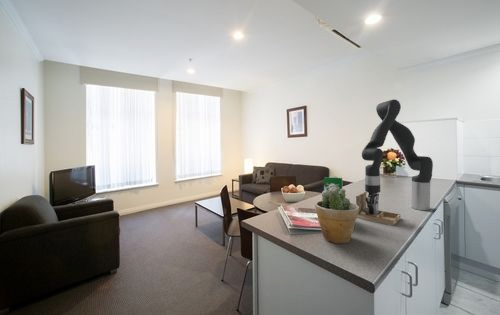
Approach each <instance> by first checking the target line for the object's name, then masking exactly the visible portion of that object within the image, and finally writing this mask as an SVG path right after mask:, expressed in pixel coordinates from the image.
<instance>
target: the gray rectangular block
mask: <svg viewBox="0 0 500 315" xmlns="http://www.w3.org/2000/svg"><path fill="white" fill-rule="evenodd" d="M370 205H371V204H370ZM379 206H380V205H379V202H378V203H375V204H374V214H373V215H377V214H379V210H380V208H379ZM366 208H367V214H369V207H367V206H366Z"/></svg>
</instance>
